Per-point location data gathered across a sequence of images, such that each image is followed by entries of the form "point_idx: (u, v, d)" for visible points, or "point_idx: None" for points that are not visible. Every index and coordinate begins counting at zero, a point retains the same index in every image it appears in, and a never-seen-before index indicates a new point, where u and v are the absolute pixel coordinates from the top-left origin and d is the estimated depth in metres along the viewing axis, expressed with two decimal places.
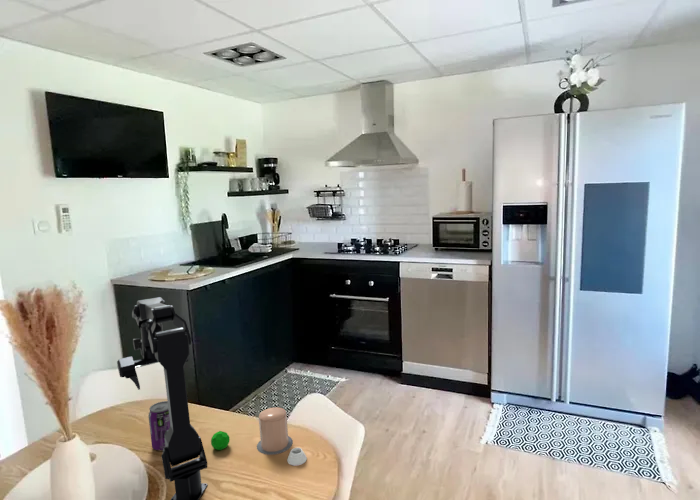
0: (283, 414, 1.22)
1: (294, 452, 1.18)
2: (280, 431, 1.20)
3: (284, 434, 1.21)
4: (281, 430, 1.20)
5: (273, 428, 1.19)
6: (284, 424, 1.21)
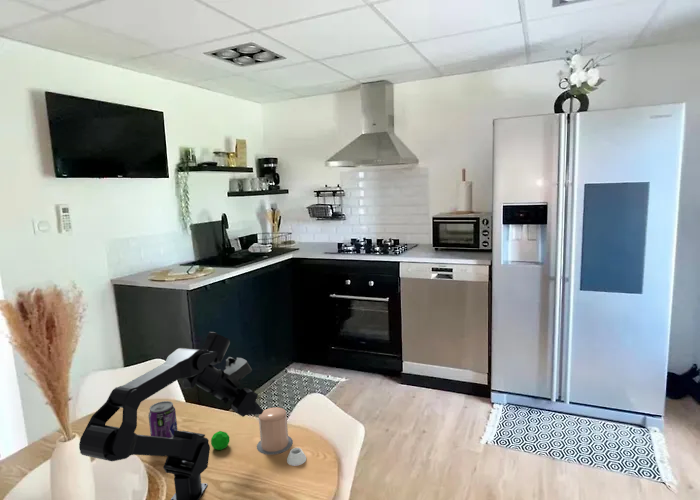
0: (283, 414, 1.22)
1: (294, 452, 1.18)
2: (280, 431, 1.20)
3: (284, 434, 1.21)
4: (281, 430, 1.20)
5: (273, 428, 1.19)
6: (284, 424, 1.21)
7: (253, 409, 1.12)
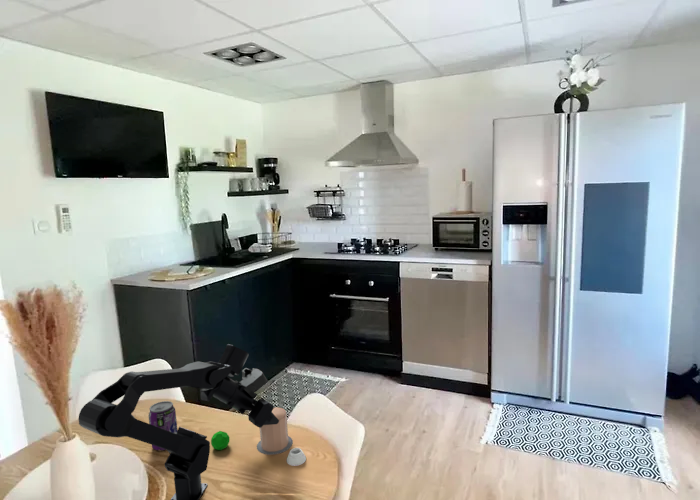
0: (283, 414, 1.22)
1: (293, 452, 1.18)
2: (280, 431, 1.20)
3: (284, 434, 1.21)
4: (281, 430, 1.20)
5: (273, 428, 1.19)
6: (284, 424, 1.21)
7: (269, 419, 1.15)
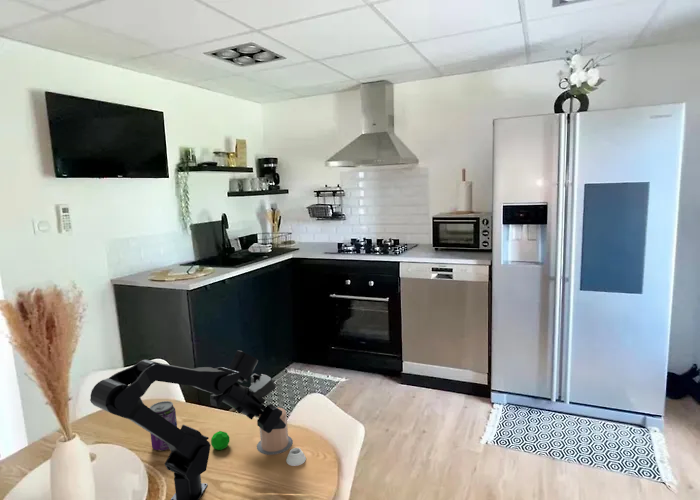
0: (283, 414, 1.22)
1: (293, 452, 1.18)
2: (280, 431, 1.20)
3: (284, 434, 1.21)
4: (281, 430, 1.20)
5: None
6: None
7: (276, 424, 1.17)
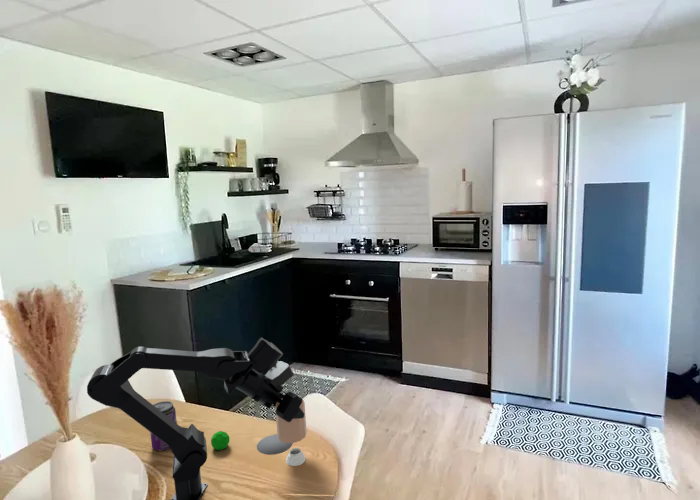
0: None
1: (293, 452, 1.17)
2: (299, 421, 1.13)
3: (303, 424, 1.14)
4: (300, 420, 1.13)
5: None
6: None
7: (295, 413, 1.10)
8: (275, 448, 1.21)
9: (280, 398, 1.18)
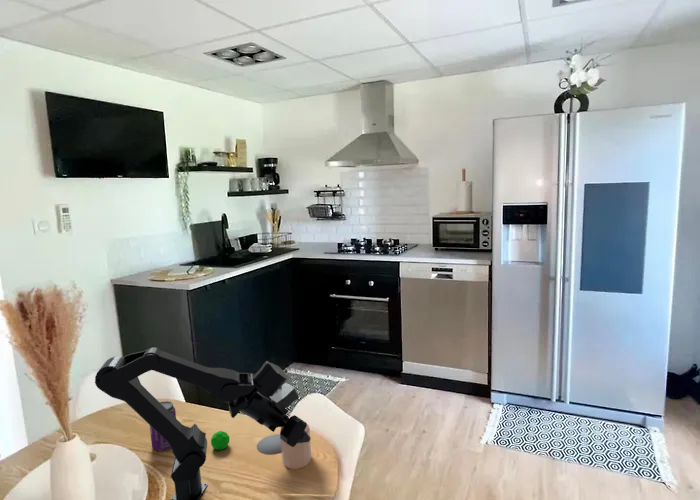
0: (306, 429, 1.14)
1: None
2: (303, 447, 1.12)
3: (307, 450, 1.13)
4: (304, 446, 1.12)
5: (296, 444, 1.11)
6: None
7: (301, 437, 1.09)
8: (275, 448, 1.21)
9: None
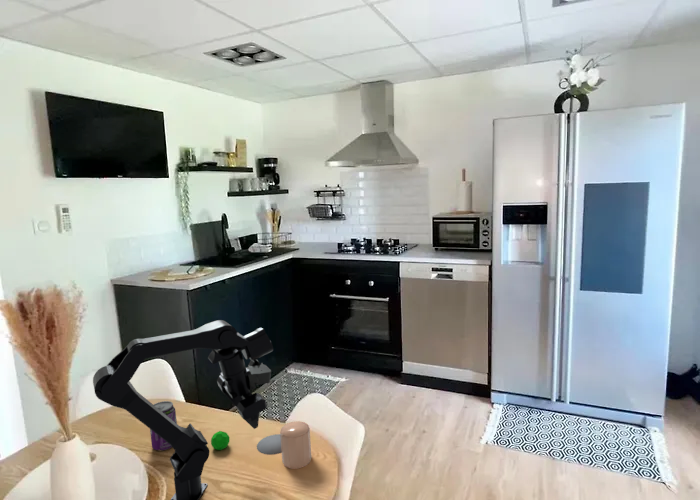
0: (306, 429, 1.14)
1: None
2: (303, 447, 1.12)
3: (307, 450, 1.13)
4: (304, 446, 1.12)
5: (296, 444, 1.11)
6: (307, 440, 1.13)
7: (252, 419, 1.08)
8: (275, 448, 1.21)
9: (241, 398, 1.17)
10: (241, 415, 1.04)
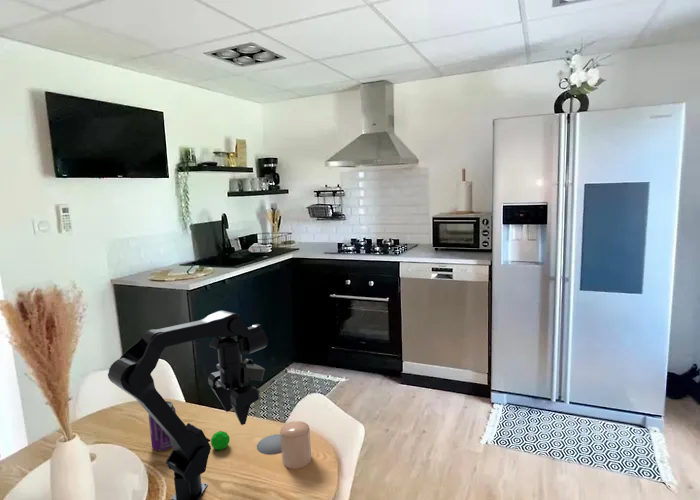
0: (306, 429, 1.14)
1: None
2: (303, 447, 1.12)
3: (307, 450, 1.13)
4: (304, 446, 1.12)
5: (296, 444, 1.11)
6: (307, 440, 1.13)
7: (242, 412, 1.09)
8: (275, 448, 1.21)
9: (229, 399, 1.18)
10: (234, 403, 1.05)
